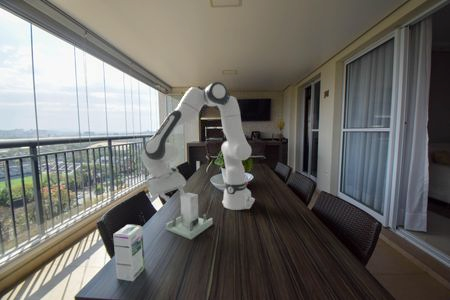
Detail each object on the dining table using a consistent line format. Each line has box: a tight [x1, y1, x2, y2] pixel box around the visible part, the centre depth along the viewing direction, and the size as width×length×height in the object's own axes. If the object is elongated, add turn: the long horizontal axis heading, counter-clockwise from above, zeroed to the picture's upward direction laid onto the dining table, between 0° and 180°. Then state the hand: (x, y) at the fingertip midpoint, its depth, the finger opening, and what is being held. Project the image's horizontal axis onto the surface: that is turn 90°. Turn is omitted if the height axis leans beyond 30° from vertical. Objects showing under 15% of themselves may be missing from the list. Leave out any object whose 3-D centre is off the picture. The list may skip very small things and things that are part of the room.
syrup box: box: [113, 224, 146, 282], centre depth 57 cm, size 6×6×14 cm
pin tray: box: [165, 213, 214, 240], centre depth 86 cm, size 15×15×5 cm
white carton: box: [180, 192, 199, 228], centre depth 85 cm, size 5×6×14 cm
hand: (176, 197), depth 89 cm, fingers open, 8 cm apart
